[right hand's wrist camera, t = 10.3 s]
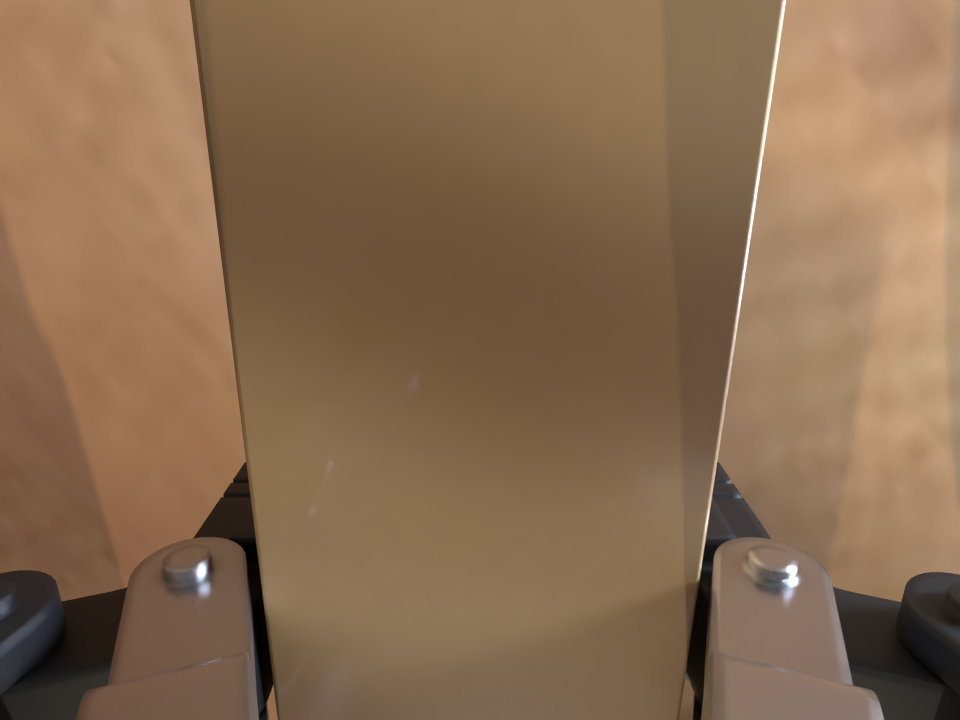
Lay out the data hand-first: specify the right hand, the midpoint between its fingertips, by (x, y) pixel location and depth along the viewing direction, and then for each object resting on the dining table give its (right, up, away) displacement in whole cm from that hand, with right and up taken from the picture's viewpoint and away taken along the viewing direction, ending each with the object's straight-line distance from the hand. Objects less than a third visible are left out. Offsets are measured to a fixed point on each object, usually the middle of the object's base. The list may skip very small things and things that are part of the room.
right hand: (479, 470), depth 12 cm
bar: (0, +28, -8) cm, 29 cm away
